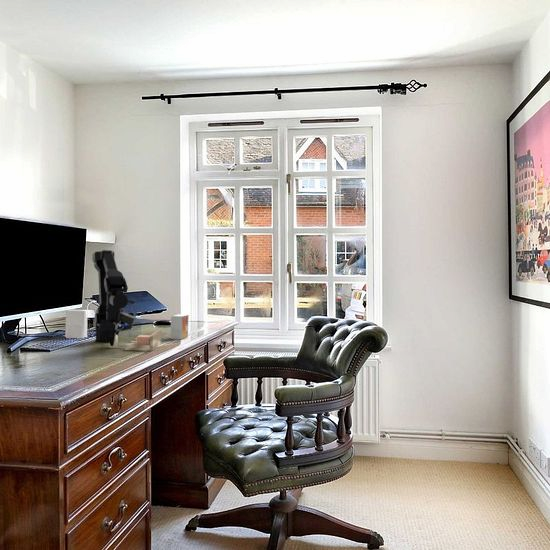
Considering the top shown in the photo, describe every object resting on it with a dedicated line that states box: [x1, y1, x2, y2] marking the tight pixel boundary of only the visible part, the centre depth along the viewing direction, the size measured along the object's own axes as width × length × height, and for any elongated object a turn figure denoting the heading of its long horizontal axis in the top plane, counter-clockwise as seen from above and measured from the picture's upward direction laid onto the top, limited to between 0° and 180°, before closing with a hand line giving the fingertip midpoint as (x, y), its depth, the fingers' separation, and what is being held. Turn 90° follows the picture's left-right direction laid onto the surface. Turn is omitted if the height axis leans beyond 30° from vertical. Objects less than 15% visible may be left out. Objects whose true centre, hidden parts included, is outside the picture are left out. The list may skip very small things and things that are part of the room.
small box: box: [170, 313, 190, 340], centre depth 233 cm, size 8×6×10 cm
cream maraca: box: [108, 334, 151, 349], centre depth 204 cm, size 16×5×5 cm, turn 92°
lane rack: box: [124, 329, 162, 352], centre depth 208 cm, size 11×17×6 cm, turn 2°
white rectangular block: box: [64, 309, 88, 339], centre depth 226 cm, size 9×9×12 cm
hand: (113, 345), depth 203 cm, fingers closed on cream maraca, 3 cm apart
